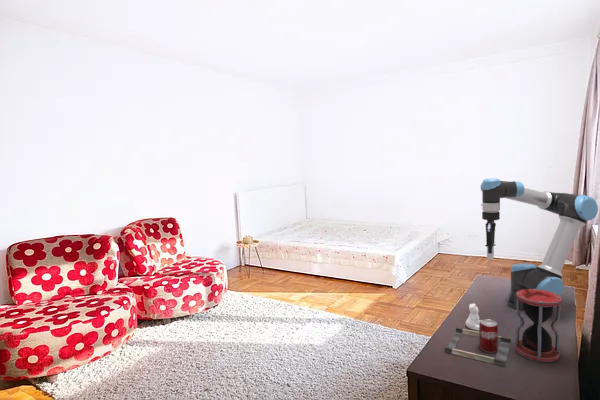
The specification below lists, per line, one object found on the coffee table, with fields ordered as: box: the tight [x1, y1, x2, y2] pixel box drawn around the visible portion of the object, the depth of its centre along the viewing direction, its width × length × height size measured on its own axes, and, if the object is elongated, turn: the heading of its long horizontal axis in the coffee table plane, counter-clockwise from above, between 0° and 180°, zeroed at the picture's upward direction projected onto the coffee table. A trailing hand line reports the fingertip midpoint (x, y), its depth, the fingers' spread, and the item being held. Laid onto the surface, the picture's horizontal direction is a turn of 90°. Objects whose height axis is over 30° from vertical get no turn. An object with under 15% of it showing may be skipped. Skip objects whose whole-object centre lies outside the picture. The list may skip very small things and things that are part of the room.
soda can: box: [478, 318, 499, 354], centre depth 168 cm, size 7×7×12 cm
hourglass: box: [514, 289, 563, 363], centre depth 163 cm, size 16×16×25 cm
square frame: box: [444, 327, 512, 367], centre depth 170 cm, size 22×23×2 cm
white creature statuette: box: [465, 303, 482, 332], centre depth 188 cm, size 10×9×12 cm
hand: (490, 259), depth 189 cm, fingers closed
